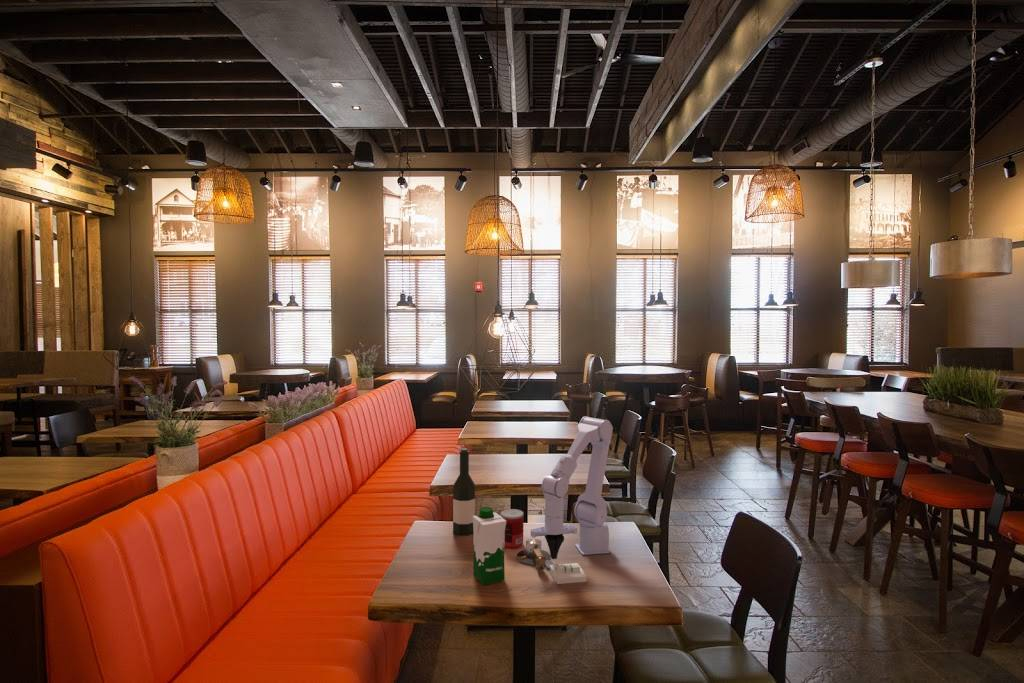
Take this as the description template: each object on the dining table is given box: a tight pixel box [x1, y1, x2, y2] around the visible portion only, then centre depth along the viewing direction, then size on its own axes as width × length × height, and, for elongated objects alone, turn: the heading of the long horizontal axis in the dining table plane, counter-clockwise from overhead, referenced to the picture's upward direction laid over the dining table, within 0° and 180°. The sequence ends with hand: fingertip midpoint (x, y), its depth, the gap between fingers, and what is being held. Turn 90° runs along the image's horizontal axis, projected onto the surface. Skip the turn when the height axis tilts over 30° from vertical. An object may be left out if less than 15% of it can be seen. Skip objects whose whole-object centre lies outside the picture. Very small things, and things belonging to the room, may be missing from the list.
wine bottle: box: [452, 447, 476, 537], centre depth 197 cm, size 8×8×30 cm
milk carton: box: [472, 506, 506, 586], centre depth 162 cm, size 9×9×20 cm
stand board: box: [548, 562, 588, 585], centre depth 164 cm, size 9×9×4 cm
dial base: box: [516, 548, 554, 571], centre depth 175 cm, size 11×14×1 cm
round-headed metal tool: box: [525, 538, 546, 571], centre depth 172 cm, size 14×5×5 cm, turn 10°
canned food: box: [500, 508, 524, 550], centre depth 186 cm, size 8×8×11 cm
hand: (553, 557), depth 170 cm, fingers closed
